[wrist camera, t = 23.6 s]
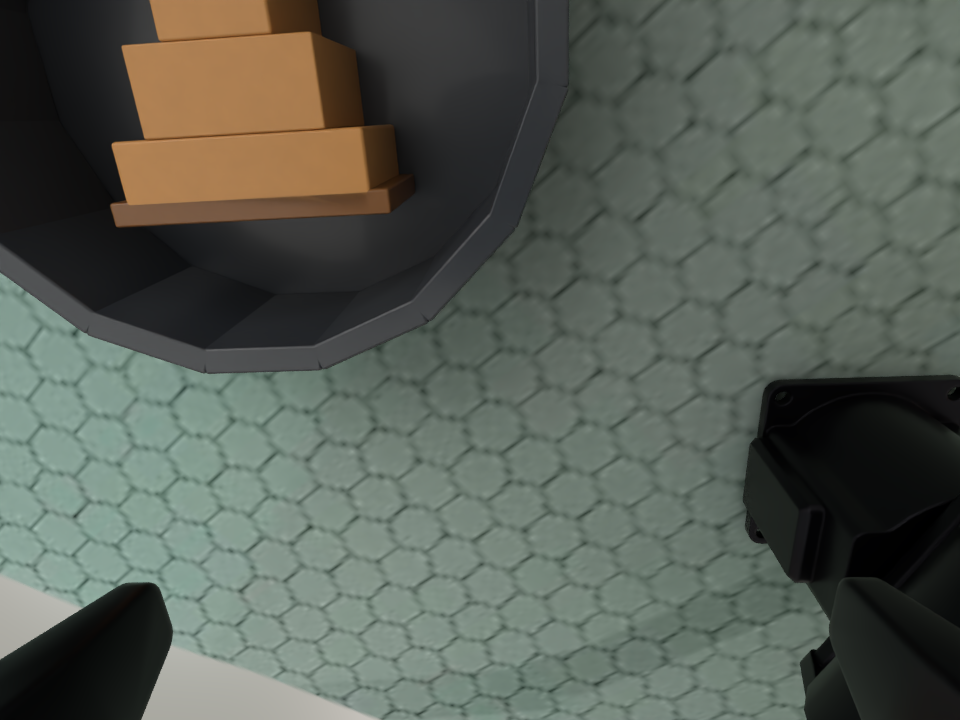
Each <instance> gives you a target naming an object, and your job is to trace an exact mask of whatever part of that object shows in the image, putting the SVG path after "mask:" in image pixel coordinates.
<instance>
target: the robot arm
mask: <svg viewBox="0 0 960 720" xmlns="http://www.w3.org/2000/svg"><path fill="white" fill-rule="evenodd" d="M955 387H956V389H955V391H954V392H953V393H952V394H951V395H948V393H949V391H950V390H951V389H952V388H955ZM784 391H785V392H786V395H785V397H783V398H782V399H780V400H775V398H776V396H777V395H778V394H779V393H780V392H784ZM743 503H744V504H745V506H746V508H747V516H746V523H745V529H746V532H747V533H748V535H749V537H750V538H751V540H752V541H754V542H756V543H761V544H763V543H768V545H769V546H770V548H771V550H772V551H773V553H774V555H775V557H776V558H777V560H778V562H779V563H780V565H781V567H782V568H783V570H784V572H785V573H786V575H787V576H788V577H789V578H790V579H791V580H792V581H793V582H795V583H806V584H807V585H808V587H809V588H810V590H811V592H812V593H813V595H814V596H815V598H816V599H817V601H818V603H819V604H820V606H821V607H822V609H823V611H824V612H825V614H826V615H827V617H828V619H829V620H830V624H829V635H830V636H829V637H828V638H827V639H826V640H825V642H824V643H823V644H822V645H821V646H820V647H819V648H818V649H817V650H814V649H812V650H811V651H810V652H809V653H808V654H807V655H806V656H805V657H804V658H803V659H802V661H801V662H800V667H801V672H802V678H803V684H804V690H805V695H806V700H805V707H804V711H805V714H806V718H807V720H960V377H958V376H954V375H936V376H900V377H865V378H830V379H794V380H777V381H774V382H772V383H770V384H769V385H768V386H767V387H766V388H765V390H764V393H763V399H762V406H761V414H760V421H759V428H758V436H757V438H755V439H754V440H753V441H752V443H751V444H750V448H749V456H748V463H747V471H746V478H745V486H744V494H743ZM757 529H759V530H760V531H757ZM172 636H173V629H172V624H171V621H170V618H169V615H168V612H167V609H166V606H165V603H164V600H163V597H162V594H161V591H160V589H159V587H158V586H157V585H156V584H154V583H150V582H143V583H125V584H122V585H120V586H118V587H117V588H115V589H113V590H112V591H110V592H108V593H107V594H105V595H104V596H102V597H100V598H99V599H97V600H96V601H94V602H92V603H91V604H89V605H88V606H86V607H84V608H83V609H81V610H79V611H78V612H77V613H75V614H73V615H71V616H70V617H68V618H67V619H65V620H63V621H62V622H60V623H59V624H57V625H55V626H54V627H52V628H50V629H49V630H47V631H46V632H44V633H43V634H41V635H39V636H38V637H36V638H34V639H33V640H31V641H30V642H28V643H26V644H25V645H23V646H21V647H20V648H18V649H17V650H15V651H14V652H12V653H10V654H9V655H7V656H5V657H4V658H2V659H1V660H0V720H141V719H142V716H143V714H144V711H145V709H146V706H147V704H148V701H149V699H150V696H151V693H152V691H153V689H154V686H155V684H156V681H157V679H158V676H159V674H160V671H161V669H162V666H163V664H164V661H165V659H166V656H167V654H168V651H169V649H170V646H171V642H172Z"/></svg>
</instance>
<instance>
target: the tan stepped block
mask: <svg viewBox="0 0 960 720" xmlns="http://www.w3.org/2000/svg"><path fill="white" fill-rule="evenodd" d="M150 5H151V9H152V13H153V18H154V22H155V26H156V31H157V35H158V39H159V41H161V42H159V43H145V44H131V45H123V46H122V52H123V56H124V59H125V63H126V67H127V71H128V75H129V79H130V83H131V87H132V91H133V95H134V99H135V103H136V107H137V111H138V115H139V119H140V123H141V127H142V131H143V135H144V138H145V139H146V140H136V141H121V142H114V143H112V150H113V153H114V157H115V161H116V164H117V168H118V171H119V175H120V179H121V182H122V186H123V190H124V193H125V197H126V200H125V201H120V202H115V203H112V204H110V207H111V211H112V214H113V218H114V221H115V225H116V227H119V228H121V227H141V226H160V225H179V224H199V223H218V222H237V221H256V220H276V219H295V218H314V217H334V216H353V215H372V214H389V213H391V212H392V211H394V210H395V209H396V208H397V207H399V206H400V205H401V204H402V203H404V202H405V201H406V200H407V199H409V198H410V197H411V196H412V195H414V194H415V182H414V175H413V174H399V170H398V160H397V151H396V141H395V131H394V126H393V125H391V124H388V125H372V126H364V117H363V109H362V100H361V92H360V84H359V76H358V68H357V59H356V51H355V50H354V49H351V48H349V47H346V46H344V45H342V44H339V43H337V42H334V41H332V40H330V39H327V38H325V37H322V32H321V25H320V18H319V11H318V3H317V0H150Z"/></svg>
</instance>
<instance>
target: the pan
mask: <svg viewBox="0 0 960 720" xmlns="http://www.w3.org/2000/svg"><path fill="white" fill-rule="evenodd" d="M317 3H318V11H319V18H320V25H321V32H322V37H325V38H327V39H330V40H332V41H334V42H337V43H339V44H342V45H344V46H346V47H349V48H351V49H354V50H355V51H356V59H357V68H358V76H359V84H360V92H361V100H362V109H363V117H364V126H372V125H388V124H391V125H393V126H394V131H395V141H396V151H397V160H398V170H399V174H413V175H414V182H415V194H414V195H412V196H411V197H410V198H409V199H407V200H406V201H405V202H404V203H402V204H401V205H400V206H399V207H397V208H396V209H395V210H394V211H392V212H391V213H389V214H372V215H353V216H334V217H314V218H295V219H276V220H256V221H237V222H218V223H199V224H179V225H160V226H141V227H121V228H119V227H116V225H115V221H114V218H113V214H112V211H111V207H110V204H112V203H115V202H120V201H125V200H126V197H125V193H124V190H123V186H122V182H121V179H120V175H119V171H118V168H117V164H116V161H115V157H114V153H113V150H112V143H114V142H121V141H136V140H146V139H145V138H144V135H143V131H142V127H141V123H140V119H139V115H138V111H137V107H136V103H135V99H134V95H133V91H132V87H131V83H130V79H129V75H128V71H127V67H126V63H125V59H124V56H123V52H122V46H123V45H131V44H145V43H159V42H161V41H159V39H158V35H157V31H156V26H155V22H154V18H153V13H152V9H151V5H150V0H0V272H1V273H2V274H3V275H5V276H6V277H8V278H9V279H10V280H12V281H13V282H14V283H16V284H17V285H19V286H20V287H21V288H23V289H24V290H26V291H27V292H28V293H30V294H31V295H32V296H34V297H35V298H37V299H38V300H39V301H41V302H42V303H44V304H45V305H46V306H48V307H49V308H50V309H52V310H53V311H55V312H56V313H57V314H59V315H60V316H62V317H63V318H64V319H66V320H67V321H68V322H70V323H71V324H73V325H74V326H75V327H77V328H78V329H80V330H81V331H82V332H84V333H87V334H88V335H89V336H92V337H95V338H98V339H101V340H104V341H107V342H110V343H113V344H116V345H119V346H122V347H125V348H128V349H131V350H134V351H137V352H140V353H143V354H146V355H149V356H152V357H155V358H158V359H161V360H164V361H167V362H170V363H174V364H177V365H180V366H183V367H186V368H189V369H192V370H195V371H198V372H201V373H208V374H215V373H247V372H280V371H312V370H322V369H327V368H329V367H331V366H334V365H336V364H338V363H340V362H343V361H345V360H347V359H349V358H352V357H354V356H356V355H358V354H360V353H363V352H365V351H367V350H369V349H372V348H374V347H376V346H378V345H381V344H383V343H385V342H387V341H389V340H392V339H394V338H396V337H398V336H401V335H403V334H405V333H407V332H410V331H412V330H414V329H416V328H418V327H421V326H423V325H425V324H427V323H428V322H429V321H431V320H433V319H434V318H435V316H436V315H437V314H438V313H439V312H440V311H441V310H442V309H443V308H444V307H445V306H446V305H447V303H448V302H449V301H450V300H451V299H452V298H453V297H454V296H455V295H456V294H457V293H458V291H459V290H460V289H461V288H462V287H463V286H464V285H465V284H466V283H467V282H468V281H469V279H470V278H471V277H472V276H473V275H474V274H475V273H476V272H477V271H478V270H479V269H480V268H481V266H482V265H483V264H484V263H485V262H486V261H487V260H488V259H489V258H490V257H491V256H492V254H493V253H494V252H495V251H496V250H497V249H498V248H499V247H500V246H501V245H502V244H503V243H504V241H505V240H506V239H507V238H508V237H509V236H510V235H511V234H512V233H513V232H514V230H515V228H516V227H517V226H518V224H519V221H520V218H521V216H522V213H523V210H524V208H525V205H526V202H527V200H528V197H529V194H530V192H531V189H532V186H533V183H534V181H535V178H536V175H537V173H538V170H539V167H540V165H541V162H542V159H543V157H544V154H545V151H546V149H547V146H548V143H549V141H550V138H551V135H552V133H553V130H554V127H555V125H556V122H557V119H558V116H559V114H560V111H561V108H562V106H563V103H564V100H565V98H566V95H567V92H568V88H567V87H568V85H569V0H317Z"/></svg>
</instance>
